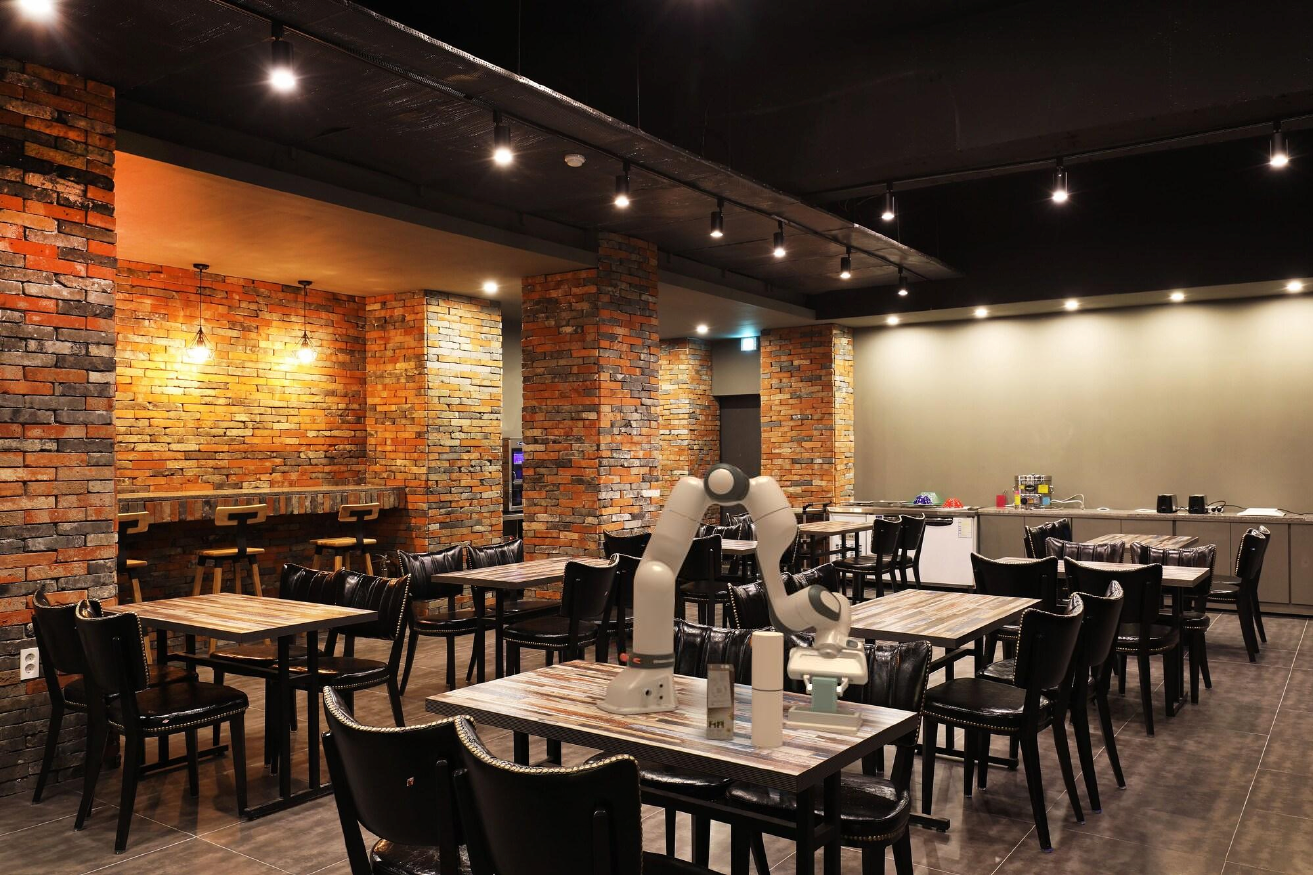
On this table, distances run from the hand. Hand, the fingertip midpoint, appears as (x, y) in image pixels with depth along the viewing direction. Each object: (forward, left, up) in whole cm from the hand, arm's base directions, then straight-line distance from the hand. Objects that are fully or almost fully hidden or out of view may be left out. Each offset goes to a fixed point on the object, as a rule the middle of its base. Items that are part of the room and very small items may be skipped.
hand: (824, 693), depth 236 cm
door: (+1, 0, -5) cm, 5 cm away
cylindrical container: (-24, -6, -8) cm, 26 cm away
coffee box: (-28, +6, -8) cm, 30 cm away
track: (+1, 0, -8) cm, 8 cm away
